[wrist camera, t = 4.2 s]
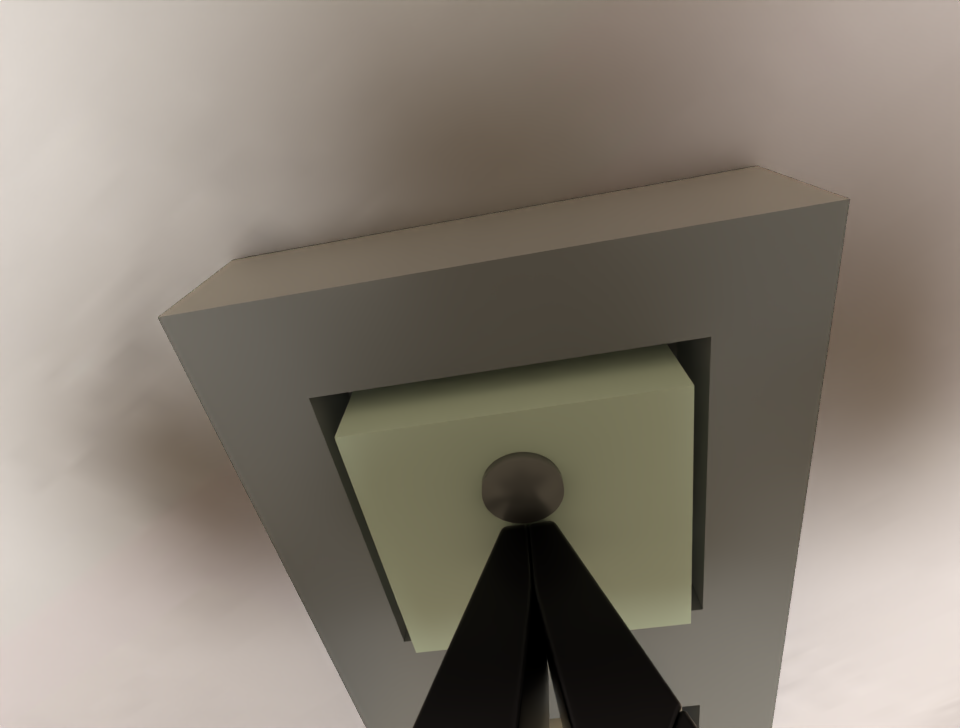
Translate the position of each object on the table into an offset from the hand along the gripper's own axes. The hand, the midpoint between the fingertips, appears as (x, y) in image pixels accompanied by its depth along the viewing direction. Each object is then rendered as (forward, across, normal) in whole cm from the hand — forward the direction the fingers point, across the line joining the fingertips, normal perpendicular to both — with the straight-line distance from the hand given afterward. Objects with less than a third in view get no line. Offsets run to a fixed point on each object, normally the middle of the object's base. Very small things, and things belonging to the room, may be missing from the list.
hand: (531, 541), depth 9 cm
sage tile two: (+2, 0, 0) cm, 2 cm away
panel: (+3, 0, +4) cm, 5 cm away
